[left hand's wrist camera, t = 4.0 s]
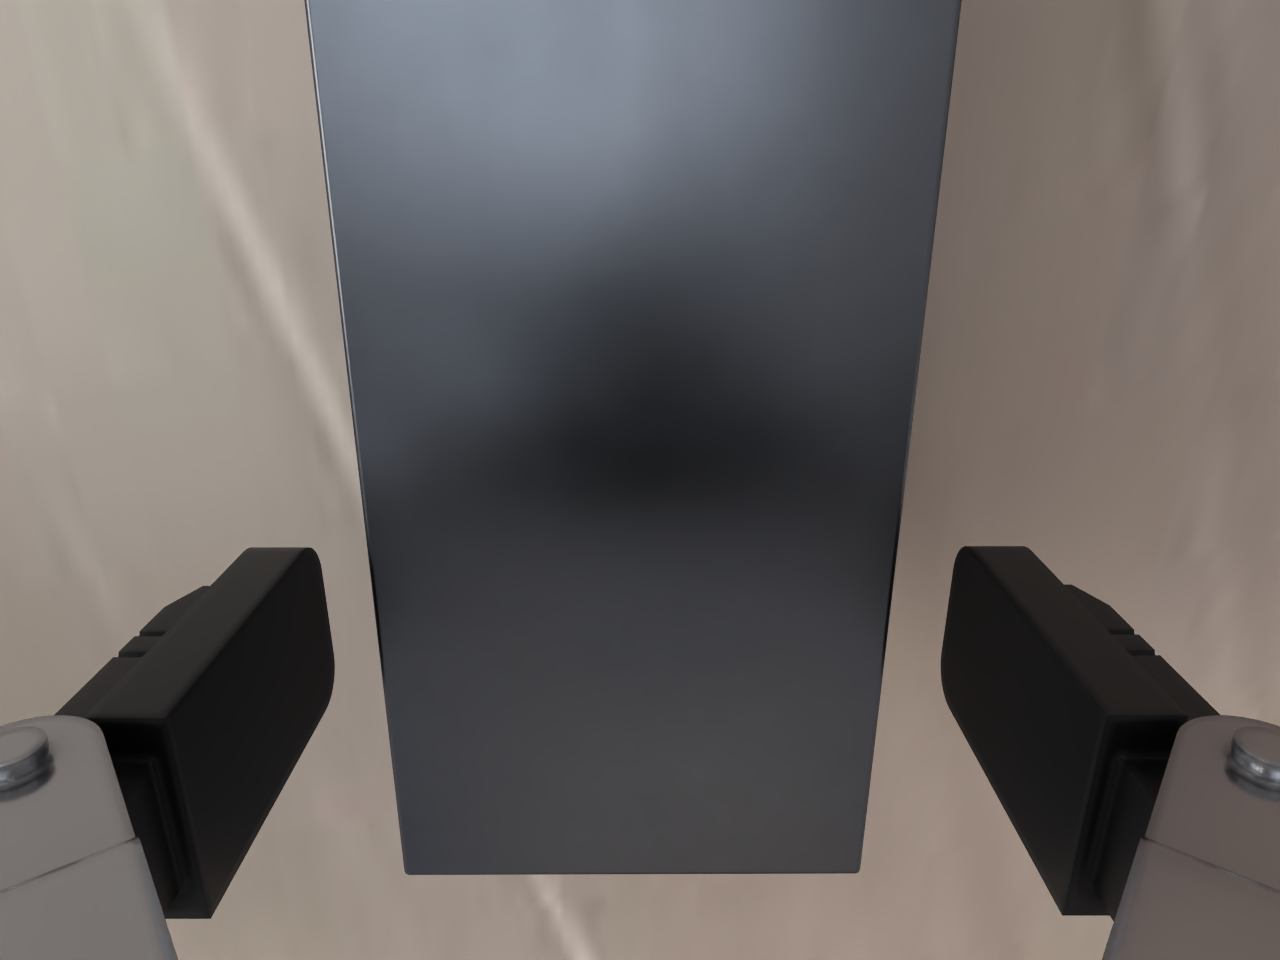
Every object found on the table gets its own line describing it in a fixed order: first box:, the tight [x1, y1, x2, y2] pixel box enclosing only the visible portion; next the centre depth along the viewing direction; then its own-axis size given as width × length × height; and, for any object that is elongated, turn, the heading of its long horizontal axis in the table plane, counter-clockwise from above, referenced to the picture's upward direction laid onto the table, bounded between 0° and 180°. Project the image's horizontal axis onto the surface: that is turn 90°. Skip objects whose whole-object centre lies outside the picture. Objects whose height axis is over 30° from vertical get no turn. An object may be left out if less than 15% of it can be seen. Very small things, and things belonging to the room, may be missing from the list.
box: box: [304, 0, 962, 875], centre depth 14 cm, size 22×6×12 cm, turn 0°
